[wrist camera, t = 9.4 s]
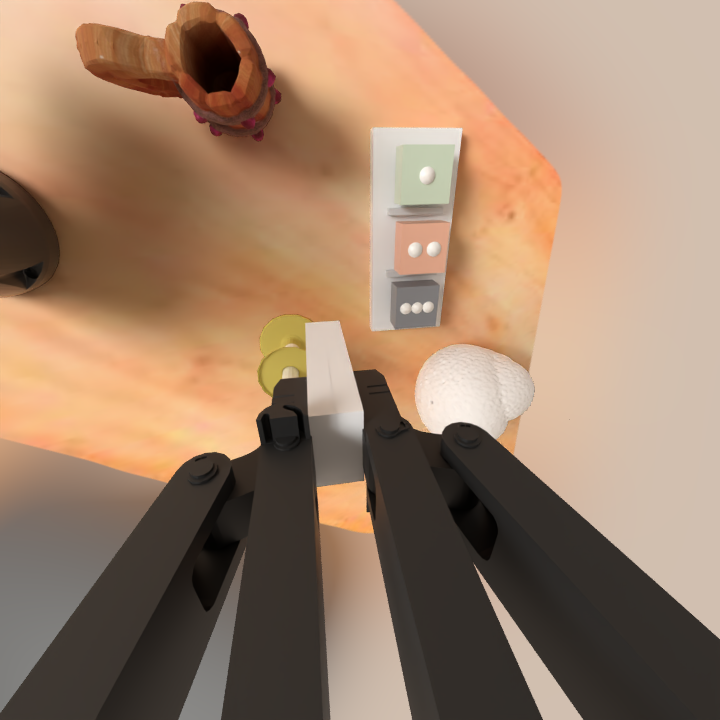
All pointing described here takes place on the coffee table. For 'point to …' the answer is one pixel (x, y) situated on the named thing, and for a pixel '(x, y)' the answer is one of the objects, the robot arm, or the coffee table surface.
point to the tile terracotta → (421, 246)
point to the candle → (282, 351)
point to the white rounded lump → (472, 389)
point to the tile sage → (423, 173)
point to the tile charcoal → (414, 303)
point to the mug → (191, 67)
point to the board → (400, 214)
